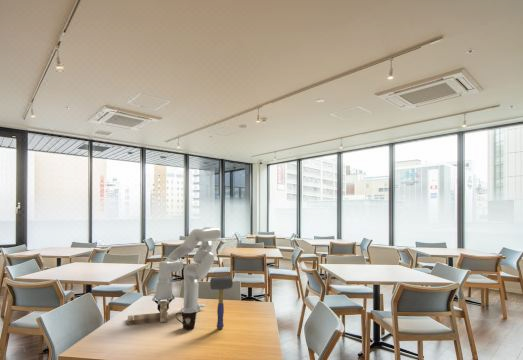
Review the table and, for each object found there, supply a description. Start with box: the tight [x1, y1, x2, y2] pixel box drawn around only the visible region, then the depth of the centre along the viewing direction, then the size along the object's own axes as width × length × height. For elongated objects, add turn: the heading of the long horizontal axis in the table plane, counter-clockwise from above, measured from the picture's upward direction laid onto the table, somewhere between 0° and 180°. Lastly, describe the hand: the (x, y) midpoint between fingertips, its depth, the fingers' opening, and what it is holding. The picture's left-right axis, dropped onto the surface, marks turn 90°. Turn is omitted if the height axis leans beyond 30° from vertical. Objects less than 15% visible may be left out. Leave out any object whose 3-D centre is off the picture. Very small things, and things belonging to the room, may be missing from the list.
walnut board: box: [127, 312, 169, 326], centre depth 204 cm, size 23×10×3 cm, turn 112°
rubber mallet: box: [209, 275, 234, 330], centre depth 193 cm, size 12×8×30 cm, turn 112°
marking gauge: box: [158, 300, 169, 323], centre depth 206 cm, size 4×14×10 cm, turn 22°
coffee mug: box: [175, 308, 198, 331], centre depth 192 cm, size 12×9×10 cm
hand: (163, 310), depth 207 cm, fingers closed on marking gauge, 4 cm apart
